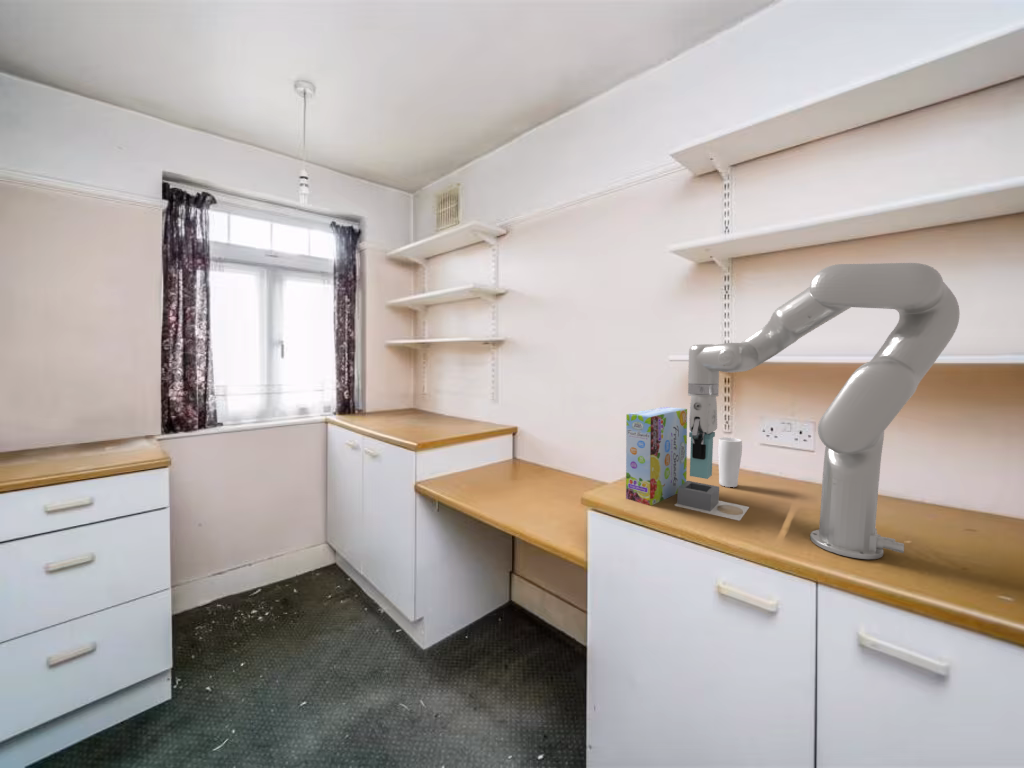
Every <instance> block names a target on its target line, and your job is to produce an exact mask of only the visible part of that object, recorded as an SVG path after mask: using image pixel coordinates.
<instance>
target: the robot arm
mask: <svg viewBox="0 0 1024 768" xmlns="http://www.w3.org/2000/svg"><path fill="white" fill-rule="evenodd" d="M943 279H944V278H943V277H942V275H941V273H940V272H939V271H938V270H937V269H935V268H934V267H932V266H930V265H928V264H924V263H919V262H918V263H917V262H891V263H890V262H889V263H888V262H887V263H885V262H884V263H883V262H881V263H840V264H839V263H837V264H832V265H828V266H826V267H825V268H822V269H821V270H820V271H818V272H817V273H815V275H814V276H813V277H812V279H811V281H810V285H809V287H808V288H806V289H804V290H803V291H800V293H798V294H797V295H796V296H794V297H793V298H791V299H790V300H788V301H786V302H785V303H783V304H781V305H780V306H778V307H777V308H776V309H775V310H774V311H773V312H772V314H771V317H770V319H769V321H768V322H767V323H766V324H765V325H764V326H763V327H762V328H761V329H759V330H758V331H757V332H756V333H754V334H753V335H751V336H750V337H748V338H746V339H744V340H743V341H742V342H725V343H719V344H713V343H711V344H710V343H709V344H705V343H704V344H702V343H701V344H693V345H691V346H690V347H689V350H688V375H687V376H688V380H687V381H688V382H687V383H688V385H687V396H690V403H689V404H690V405H689V421H688V422H689V432H692V436H693V449H692V457H693V458H695V459H702V460H704V459H705V456H706V445H704V443H705V432H706V434H710V433H712V432H715V431H716V430H717V429H718V405H717V404H718V403H717V397H719V393H720V392H719V391H720V390H719V389H720V388H719V387H720V385H719V383H720V372H721V373H741V372H748V371H751V370H752V369H754V368H756V367H758V366H760V365H761V364H763V363H765V362H766V361H768V360H770V359H771V358H773V357H775V356H776V355H778V354H779V353H781V352H782V351H784V350H785V349H787V348H789V346H791V345H793V344H795V343H796V342H797V341H799V339H802V337H804V336H806V335H807V334H809V333H811V332H812V331H814V330H815V329H817V328H819V327H820V326H823V325H824V324H825V323H827V322H830V320H832V319H833V318H836V317H837V316H839V315H841V314H842V313H845V312H846V311H848V310H849V309H851V308H861V309H862V308H864V309H883V310H884V309H885V310H896V311H897V312H898V314H899V316H898V317H899V319H898V322H897V323H896V325H895V326H894V328H893V330H892V331H891V332H890V334H889V335H888V336H887V338H886V339H885V341H884V343H883V344H882V345H881V347H880V348H879V349H878V350H877V352H876V353H875V355H874V356H873V357H872V359H871V360H870V361H867V362H866V363H863V364H862V365H860V366H859V367H858V368H856V369H855V370H854V372H853V373H852V374H851V375H850V377H849V378H848V379H847V380H846V381H845V383H844V385H843V386H842V387H841V389H840V391H839V392H838V394H837V395H836V396H835V397H834V399H833V400H832V402H831V403H830V405H829V406H828V408H827V409H826V410H825V412H824V413H823V414H822V416H821V418H820V419H819V422H818V425H817V434H818V437H819V439H820V441H821V443H822V444H823V445H824V446H825V450H824V458H823V469H822V470H823V471H822V479H821V480H822V483H821V498H820V511H819V512H820V513H819V527H818V528H819V529H816V530H813V531H811V532H810V536H809V537H810V538H809V539H810V540H811V542H813V544H815V545H816V546H818V547H819V548H821V549H823V550H825V551H828V552H830V553H834V554H837V555H840V556H844V557H848V558H853V559H859V560H876V559H880V558H882V557H883V556H884V549H886V550H891V551H892V552H898V553H901V554H904V553H905V552H904V551H905V544H904V543H903V542H898V541H896V539H895V538H891V537H886V536H881V534H878V531H877V530H878V529H877V528H876V525H877V523H876V522H877V510H878V496H879V484H880V474H881V463H882V453H883V445H884V437H885V430H886V429H887V428H888V426H890V424H891V423H892V422H893V421H894V420H895V418H896V416H897V415H898V414H899V413H900V412H901V410H902V409H903V408H904V407H905V405H906V404H907V403H908V402H909V400H910V399H911V398H912V397H913V396H914V394H915V393H916V391H917V388H918V386H919V384H920V382H921V381H922V380H923V379H924V377H925V376H926V374H927V373H929V371H930V369H931V368H932V367H933V365H934V364H935V363H936V361H937V359H938V358H939V356H940V355H941V354H942V352H943V351H944V350H945V349H946V347H947V346H948V345H949V343H950V341H951V340H952V338H953V337H954V335H955V333H956V332H957V329H958V326H959V323H960V322H959V321H960V315H961V314H960V306H959V302H958V299H957V298H956V295H955V294H954V292H953V291H952V290H951V289H950V287H949V286H948V285H947V284H946V283H945V282H944V280H943ZM699 431H703V433H700V432H699ZM700 435H702V439H701V436H700Z"/></svg>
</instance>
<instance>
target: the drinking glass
mask: <svg viewBox="0 0 1024 768" xmlns="http://www.w3.org/2000/svg"><path fill="white" fill-rule="evenodd" d="M717 443H718V444H717V454H718V455H717V460H718V461H717V462H718V484H719V485H720V486H722V487H724V486H725V488H730V487H733V488H736V487H738V485H739V484H738V483H739V475H740V474H739V473H740V468H741V467H740V466H741V462H742V461H741V460H742V453H743V452H742V451H743V440H742V439H740V438H735V437H724V436H723V437H718V442H717Z"/></svg>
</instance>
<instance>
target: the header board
mask: <svg viewBox="0 0 1024 768" xmlns="http://www.w3.org/2000/svg"><path fill="white" fill-rule="evenodd" d="M676 498H677V501H676V503H675V504H674V506H675V507H678V508H684V509H686V510H692V511H695V512H701V513H705V514H707V515H708V514H709V515H713V516H718V517H723V518H727V519H729V520H730V519H731V520H735V521H738V522H740V521H741V520H742V518H744V516H745V514H746V513H747V511H748V510H749V509H750V506H746V505H742V504H737V503H733V502H727V501H723V500H720V486H717V485H714V484H707V483H704V482H703V483H701V482H698V481H697V482H696V481H692V480H686V482H685V483H684V484H682V485H681V486H680V487H678V493H677V497H676Z"/></svg>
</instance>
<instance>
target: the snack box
mask: <svg viewBox="0 0 1024 768" xmlns="http://www.w3.org/2000/svg"><path fill="white" fill-rule="evenodd" d="M625 417H626V419H625V420H626V421H625V422H626V427H625V428H626V429H625V430H626V431H625V433H626V435H625V436H626V437H625V438H626V439H625V440H626V441H625V443H626V445H625V446H626V448H625V457H626V458H625V465H626V466H625V469H626V470H625V499H626V500H630V501H632V502H636V503H639V504H643V505H647V506H654V505H656V504H658V503H660V502H662V501H664V500H666V499H668V498H670V497H673V496H675V495H678V487H680V486H681V485H682V484H684V483H685V482H686V481H687V473H688V472H687V466H688V464H687V463H688V462H687V461H688V460H687V459H688V458H687V457H688V456H687V455H688V454H687V453H688V450H687V449H688V445H687V444H688V408H683V407H671V406H662V407H661V406H660V407H656V408H650V409H645V410H641V411H637V412H636V411H635V412H631V413H627V414H626V416H625Z"/></svg>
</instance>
